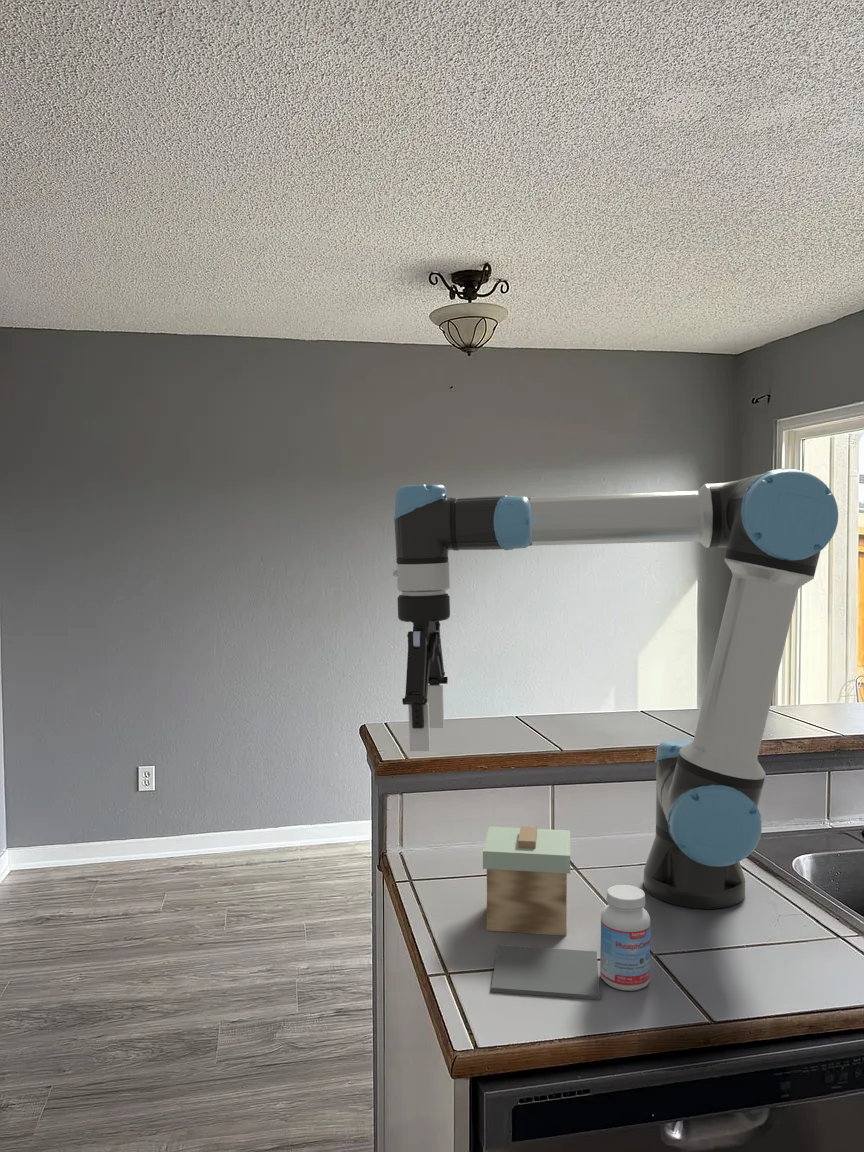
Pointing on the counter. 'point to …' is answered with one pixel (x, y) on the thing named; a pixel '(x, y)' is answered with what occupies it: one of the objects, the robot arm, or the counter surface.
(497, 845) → the lid
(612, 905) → the pill bottle
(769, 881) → the counter surface
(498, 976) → the mat
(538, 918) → the box
